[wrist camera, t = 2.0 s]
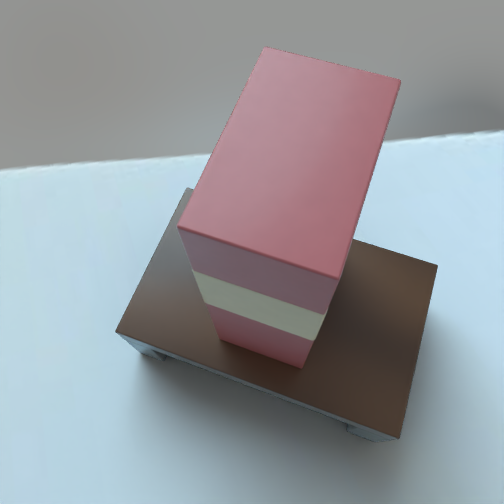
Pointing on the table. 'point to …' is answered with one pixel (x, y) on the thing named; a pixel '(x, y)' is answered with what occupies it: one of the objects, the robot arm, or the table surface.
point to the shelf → (324, 346)
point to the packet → (285, 199)
